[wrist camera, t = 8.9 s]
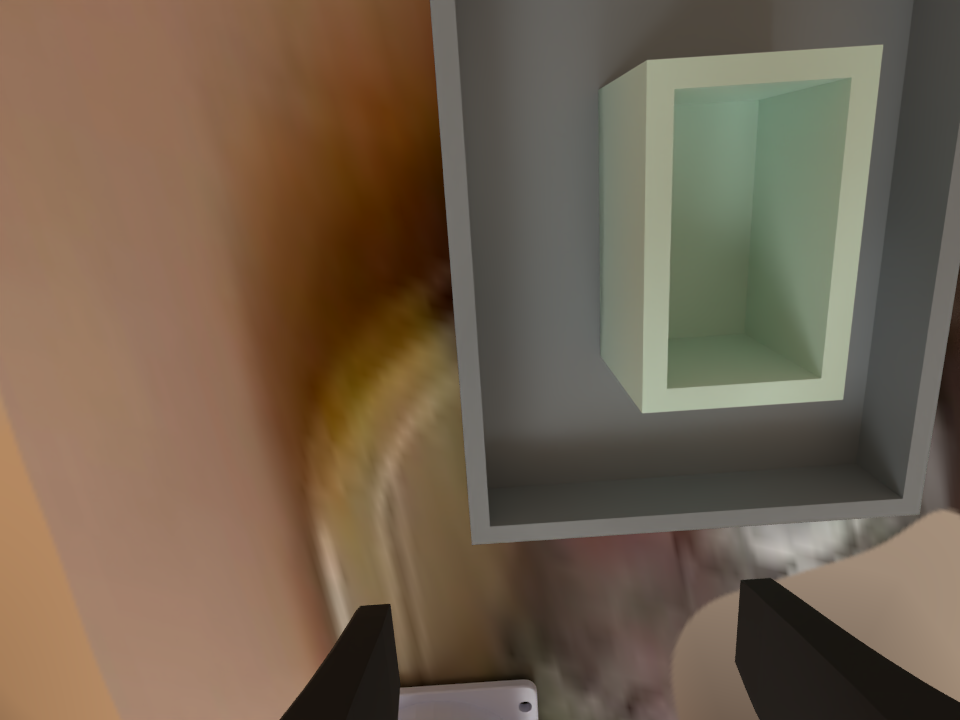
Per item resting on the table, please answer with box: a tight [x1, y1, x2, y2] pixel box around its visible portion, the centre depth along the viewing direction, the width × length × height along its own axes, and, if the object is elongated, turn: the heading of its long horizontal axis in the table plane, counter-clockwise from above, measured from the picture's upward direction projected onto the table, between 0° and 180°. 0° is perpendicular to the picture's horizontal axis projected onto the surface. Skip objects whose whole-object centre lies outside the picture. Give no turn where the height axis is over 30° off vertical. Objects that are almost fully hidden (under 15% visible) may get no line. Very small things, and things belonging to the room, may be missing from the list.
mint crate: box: [598, 45, 883, 413], centre depth 17 cm, size 8×5×5 cm, turn 4°
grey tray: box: [430, 0, 960, 545], centre depth 18 cm, size 18×14×3 cm
